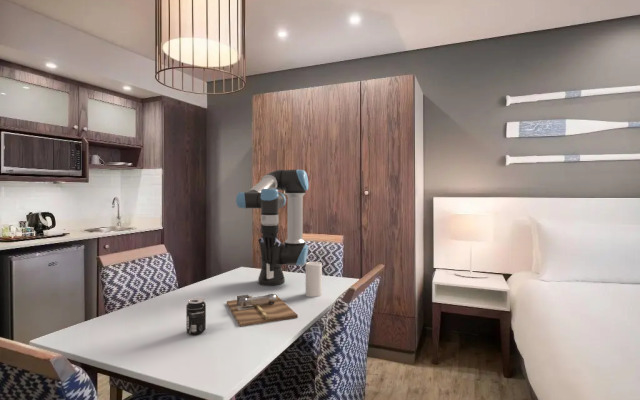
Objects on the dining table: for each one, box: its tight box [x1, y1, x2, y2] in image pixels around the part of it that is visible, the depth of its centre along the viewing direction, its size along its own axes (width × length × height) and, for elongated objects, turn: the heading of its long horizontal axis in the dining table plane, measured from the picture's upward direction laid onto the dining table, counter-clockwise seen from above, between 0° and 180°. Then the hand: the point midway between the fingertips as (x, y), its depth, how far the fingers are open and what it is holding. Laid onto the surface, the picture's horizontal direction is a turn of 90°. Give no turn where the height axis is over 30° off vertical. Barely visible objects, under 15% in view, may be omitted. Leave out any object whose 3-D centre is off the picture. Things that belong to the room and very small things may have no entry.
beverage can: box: [185, 297, 207, 336], centre depth 130 cm, size 7×7×12 cm
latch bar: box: [239, 293, 276, 307], centre depth 156 cm, size 17×4×3 cm, turn 119°
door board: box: [226, 294, 299, 328], centre depth 154 cm, size 30×24×5 cm
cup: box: [305, 261, 323, 298], centre depth 178 cm, size 8×8×16 cm
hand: (270, 277), depth 152 cm, fingers closed
